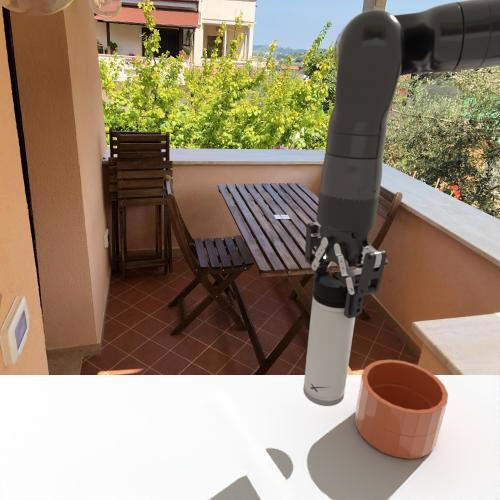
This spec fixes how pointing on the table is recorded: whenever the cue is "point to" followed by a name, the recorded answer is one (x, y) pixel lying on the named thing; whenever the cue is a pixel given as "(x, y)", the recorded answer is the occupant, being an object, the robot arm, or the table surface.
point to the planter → (400, 408)
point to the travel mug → (328, 342)
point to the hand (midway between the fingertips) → (334, 304)
